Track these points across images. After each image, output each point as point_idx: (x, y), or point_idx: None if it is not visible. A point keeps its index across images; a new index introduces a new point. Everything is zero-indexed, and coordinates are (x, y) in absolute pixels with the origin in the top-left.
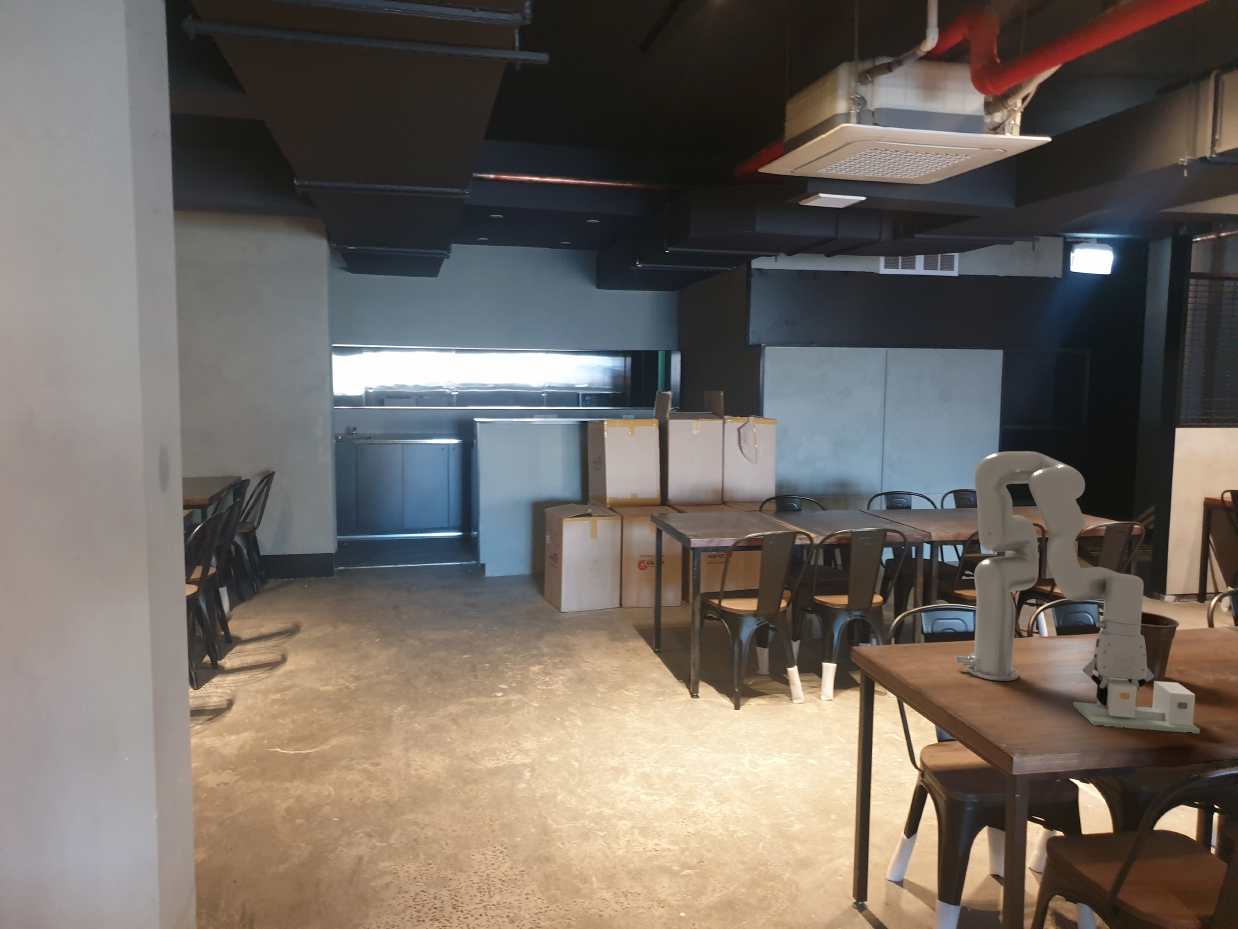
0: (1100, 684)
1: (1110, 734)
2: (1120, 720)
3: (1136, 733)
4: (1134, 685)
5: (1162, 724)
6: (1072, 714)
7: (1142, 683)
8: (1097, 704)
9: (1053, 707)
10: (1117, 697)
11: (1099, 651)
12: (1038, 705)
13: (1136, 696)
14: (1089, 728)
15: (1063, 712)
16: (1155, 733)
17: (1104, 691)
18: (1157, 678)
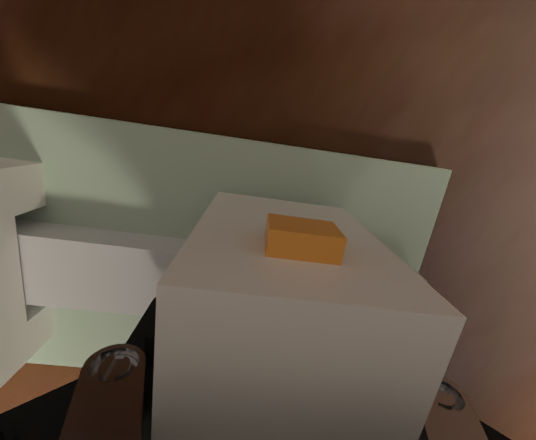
0: (470, 404)
1: (429, 42)
2: (296, 187)
3: (273, 68)
4: (156, 348)
5: (83, 146)
6: (439, 292)
7: (9, 427)
8: None
9: (466, 357)
10: (351, 246)
11: None
12: (514, 370)
13: (140, 320)
14: (483, 124)
15: (463, 310)
16: (165, 76)
17: None
18: None
